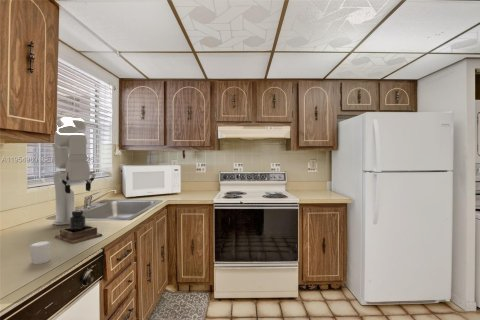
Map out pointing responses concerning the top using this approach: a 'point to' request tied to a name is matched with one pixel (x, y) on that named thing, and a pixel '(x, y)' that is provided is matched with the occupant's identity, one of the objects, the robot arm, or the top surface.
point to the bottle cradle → (78, 234)
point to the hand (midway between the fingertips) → (78, 191)
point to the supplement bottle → (77, 221)
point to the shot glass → (40, 252)
